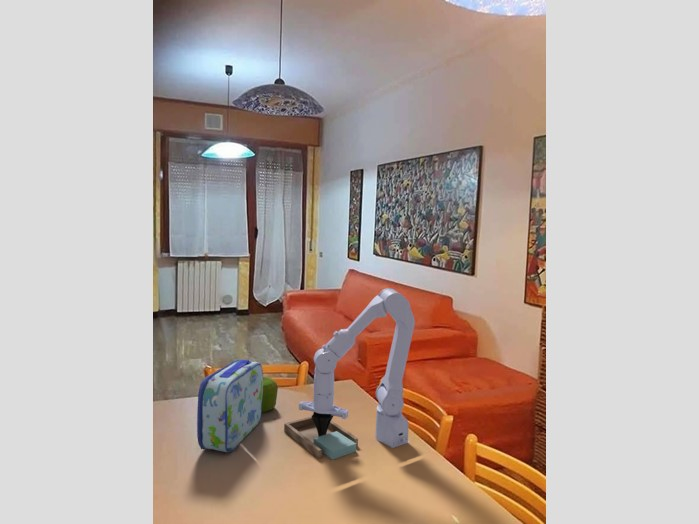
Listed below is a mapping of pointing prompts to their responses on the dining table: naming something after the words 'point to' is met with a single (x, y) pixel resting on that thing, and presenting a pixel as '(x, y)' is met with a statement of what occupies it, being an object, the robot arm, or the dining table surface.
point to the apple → (269, 394)
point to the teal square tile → (335, 445)
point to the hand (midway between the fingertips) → (322, 437)
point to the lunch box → (229, 405)
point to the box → (313, 434)
